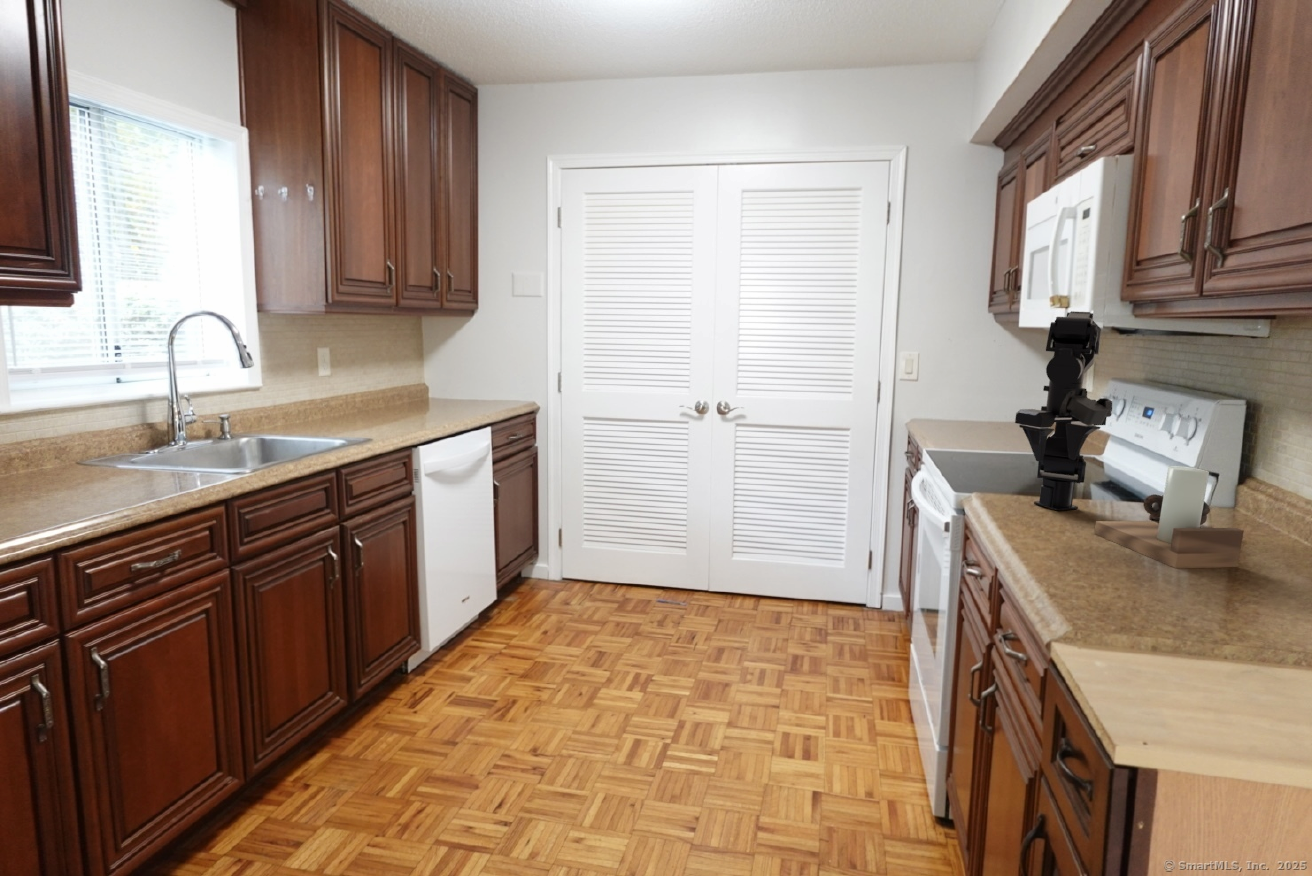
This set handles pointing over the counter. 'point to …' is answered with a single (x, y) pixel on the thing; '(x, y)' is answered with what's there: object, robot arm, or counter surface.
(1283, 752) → the counter surface
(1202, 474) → the pale upright pillar block
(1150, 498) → the rusty ring shackle
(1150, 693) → the counter surface
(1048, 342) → the robot arm
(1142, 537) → the walnut shelf board
